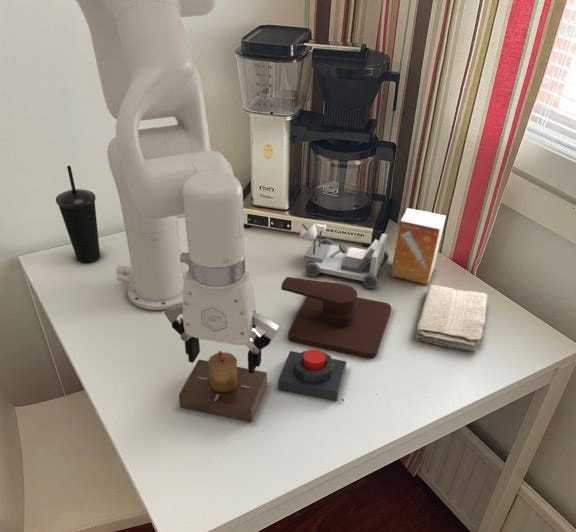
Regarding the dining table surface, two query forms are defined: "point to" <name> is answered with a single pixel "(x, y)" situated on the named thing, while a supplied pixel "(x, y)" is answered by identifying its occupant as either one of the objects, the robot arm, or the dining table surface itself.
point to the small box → (417, 245)
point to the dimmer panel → (223, 393)
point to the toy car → (344, 257)
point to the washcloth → (452, 318)
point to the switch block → (312, 377)
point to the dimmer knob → (223, 371)
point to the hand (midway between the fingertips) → (223, 362)
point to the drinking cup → (80, 221)
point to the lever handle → (337, 318)
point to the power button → (313, 359)
